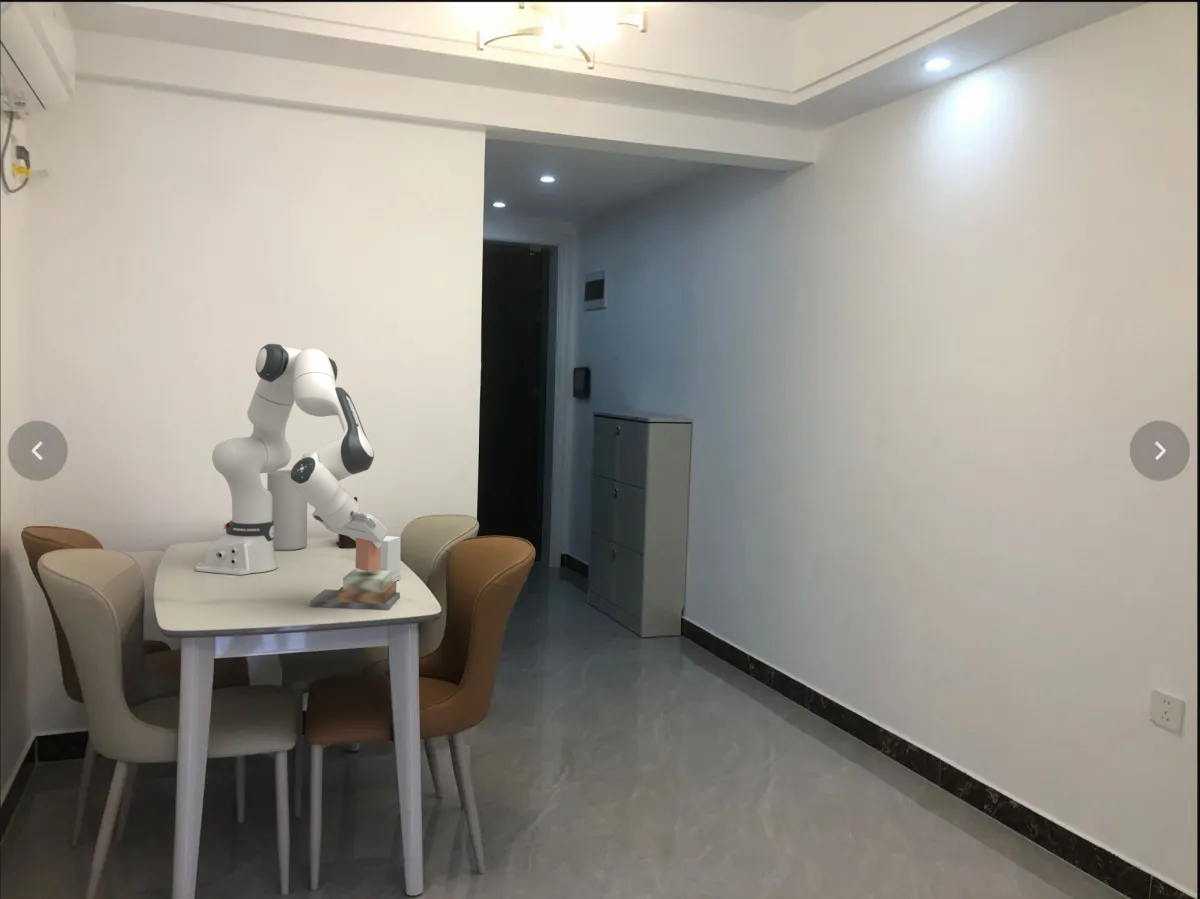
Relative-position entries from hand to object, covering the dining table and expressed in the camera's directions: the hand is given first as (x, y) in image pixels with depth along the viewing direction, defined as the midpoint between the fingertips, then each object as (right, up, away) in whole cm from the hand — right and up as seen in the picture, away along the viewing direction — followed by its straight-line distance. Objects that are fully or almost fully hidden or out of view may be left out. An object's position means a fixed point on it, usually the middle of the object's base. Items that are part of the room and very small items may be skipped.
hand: (370, 544), depth 234 cm
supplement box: (-3, -13, +25) cm, 28 cm away
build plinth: (-4, -15, +1) cm, 16 cm away
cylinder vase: (-44, -8, +66) cm, 80 cm away
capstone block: (-1, -6, 0) cm, 6 cm away
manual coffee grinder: (-24, -9, +72) cm, 76 cm away
